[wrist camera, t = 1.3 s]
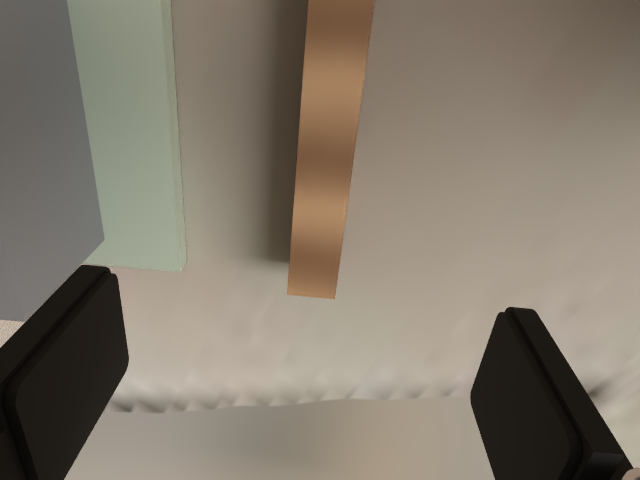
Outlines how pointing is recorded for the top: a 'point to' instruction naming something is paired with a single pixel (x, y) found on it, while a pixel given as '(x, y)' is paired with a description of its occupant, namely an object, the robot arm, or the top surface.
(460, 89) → the top surface
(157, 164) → the stand
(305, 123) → the walnut bar
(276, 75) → the top surface
